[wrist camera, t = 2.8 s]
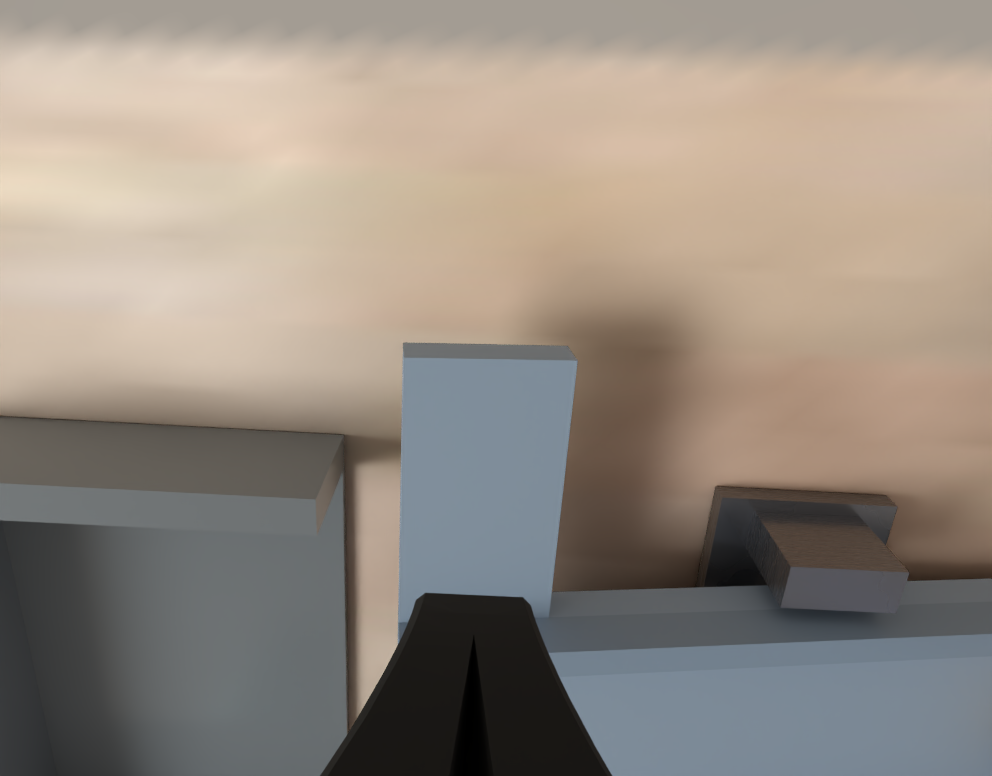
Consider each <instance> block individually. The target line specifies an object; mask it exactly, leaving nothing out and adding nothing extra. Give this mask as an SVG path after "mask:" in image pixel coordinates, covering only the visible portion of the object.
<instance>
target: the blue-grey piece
mask: <svg viewBox="0 0 992 776" xmlns="http://www.w3.org/2000/svg"><path fill="white" fill-rule="evenodd" d="M577 362H578V360H577V359H576V357H575V356H574V355H573V353H572V352H571V350H570V349H569V347H568V346H547V345H497V344H447V343H403V378H402V435H401V492H400V548H399V605H398V644H399V642H400V640H401V637H402V635H403V633H404V631H405V628H406V626H407V624H408V621H409V619H410V616H411V614H412V611H413V608H414V604H415V601H416V599H418V598H419V597H420V596H422V595H423V594H424V593H443V594H465V595H487V596H509V597H523V598H524V599H525V600H526V601H527V602H528V603H529V604H530V605H531V607H532V611H533V614H534V617H535V620H536V623H537V626H538V628H539V631H540V634H541V636H542V639H543V641H544V644H545V646H546V648H547V651H548V653H549V655H550V658H551V660H552V662H553V664H554V666H555V668H556V671H557V673H558V675H559V677H560V679H561V681H562V684H563V686H564V688H565V690H566V692H567V694H568V696H569V698H570V700H571V702H572V704H573V705H574V707H575V709H576V711H577V713H578V715H579V717H580V719H581V720H582V722H583V724H584V726H585V728H586V730H587V732H588V734H589V735H590V737H591V739H592V741H593V743H594V745H595V747H596V748H597V750H598V752H599V754H600V755H601V757H602V759H603V761H604V762H605V764H606V766H607V768H608V769H609V771H610V773H611V774H612V776H992V579H959V580H926V581H907V582H906V585H905V588H904V591H903V594H902V597H901V600H900V603H899V606H898V609H897V612H896V613H877V612H856V611H835V610H814V609H793V608H780V606H779V604H778V603H777V601H776V599H775V597H774V596H773V594H772V592H771V590H770V589H769V587H768V585H762V586H729V587H697V588H664V589H631V590H598V591H565V592H552V585H553V576H554V567H555V558H556V549H557V541H558V532H559V523H560V514H561V505H562V496H563V487H564V478H565V469H566V460H567V451H568V442H569V433H570V425H571V416H572V407H573V398H574V389H575V380H576V371H577Z"/></svg>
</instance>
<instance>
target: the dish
mask: <svg viewBox="0 0 992 776" xmlns="http://www.w3.org/2000/svg"><path fill="white" fill-rule="evenodd" d="M347 734H348V677H347V610H346V543H345V475H344V435H336V434H318V433H299V432H281V431H262V430H244V429H225V428H207V427H188V426H170V425H151V424H133V423H114V422H96V421H77V420H59V419H40V418H22V417H3V416H0V776H320V775H321V773H322V772H323V770H324V769H325V767H326V766H327V764H328V763H329V761H330V760H331V758H332V757H333V755H334V754H335V752H336V751H337V749H338V748H339V746H340V745H341V743H342V742H343V740H344V739H345V737H346V736H347Z"/></svg>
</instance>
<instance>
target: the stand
mask: <svg viewBox="0 0 992 776" xmlns="http://www.w3.org/2000/svg"><path fill="white" fill-rule="evenodd" d="M896 510H897V506H896V505H895V504H894V503H893V502H892V501H891V500H890V499H889V498H888V497H887V496H886V495H868V494H849V493H830V492H811V491H792V490H773V489H754V488H735V487H715V492H714V497H713V502H712V507H711V512H710V517H709V522H708V527H707V532H706V537H705V542H704V547H703V552H702V557H701V562H700V567H699V572H698V577H697V582H696V587H695V588H697V587H729V586H762V585H768V587H769V589H770V590H771V592H772V594H773V596H774V597H775V599H776V601H777V603H778V604H779V606H780V608H793V609H814V610H835V611H856V612H877V613H896V612H897V609H898V606H899V603H900V600H901V597H902V594H903V591H904V588H905V585H906V582H907V579H908V576H909V571H908V570H907V569H906V568H905V567H904V566H903V565H902V564H901V562H900V561H899V560H898V559H897V558H896V557H895V556H894V555H893V553H892V552H891V551H890V550H889V549H888V548H887V547H886V543H887V539H888V536H889V533H890V530H891V527H892V523H893V520H894V517H895V514H896Z"/></svg>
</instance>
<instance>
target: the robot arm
mask: <svg viewBox="0 0 992 776" xmlns="http://www.w3.org/2000/svg"><path fill="white" fill-rule="evenodd" d="M320 776H612V774H611V773H610V771H609V769H608V768H607V766H606V764H605V762H604V761H603V759H602V757H601V755H600V754H599V752H598V750H597V748H596V747H595V745H594V743H593V741H592V739H591V737H590V735H589V734H588V732H587V730H586V728H585V726H584V724H583V722H582V720H581V719H580V717H579V715H578V713H577V711H576V709H575V707H574V705H573V704H572V702H571V700H570V698H569V696H568V694H567V692H566V690H565V688H564V686H563V684H562V681H561V679H560V677H559V675H558V673H557V671H556V668H555V666H554V664H553V662H552V660H551V658H550V655H549V653H548V651H547V648H546V646H545V644H544V641H543V639H542V636H541V634H540V631H539V628H538V626H537V623H536V620H535V617H534V614H533V611H532V607H531V605H530V604H529V603H528V602H527V601H526V600H525V599H524V598H523V597H509V596H487V595H465V594H443V593H424V594H423V595H422V596H420V597H419V598H418V599H416V601H415V604H414V608H413V611H412V614H411V616H410V619H409V621H408V624H407V626H406V628H405V631H404V633H403V635H402V637H401V640H400V642H399V644H398V646H397V648H396V650H395V652H394V654H393V656H392V658H391V660H390V661H389V663H388V665H387V667H386V669H385V671H384V673H383V675H382V677H381V678H380V680H379V682H378V684H377V685H376V687H375V689H374V690H373V692H372V694H371V696H370V697H369V699H368V701H367V703H366V704H365V706H364V708H363V709H362V711H361V713H360V715H359V716H358V718H357V720H356V721H355V723H354V725H353V726H352V728H351V730H350V731H349V733H348V734H347V736H346V737H345V739H344V740H343V742H342V743H341V745H340V746H339V748H338V749H337V751H336V752H335V754H334V755H333V757H332V758H331V760H330V761H329V763H328V764H327V766H326V767H325V769H324V770H323V772H322V773H321V775H320Z"/></svg>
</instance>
